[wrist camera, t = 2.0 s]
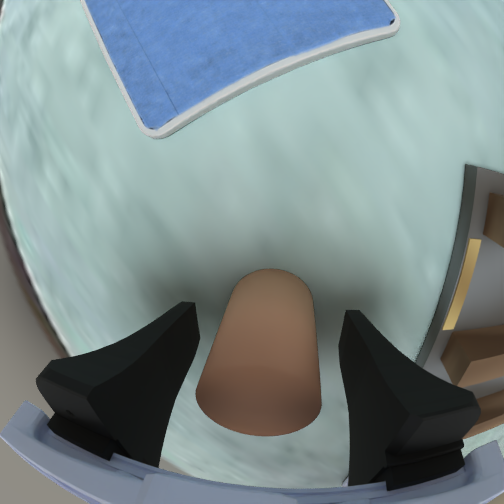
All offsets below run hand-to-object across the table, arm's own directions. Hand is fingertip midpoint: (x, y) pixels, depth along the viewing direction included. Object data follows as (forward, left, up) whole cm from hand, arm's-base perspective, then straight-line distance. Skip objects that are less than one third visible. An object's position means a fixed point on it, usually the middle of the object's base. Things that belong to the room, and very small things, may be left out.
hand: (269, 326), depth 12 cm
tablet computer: (+19, +4, -2) cm, 20 cm away
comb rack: (-2, -16, -2) cm, 16 cm away
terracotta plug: (0, 0, -2) cm, 2 cm away
